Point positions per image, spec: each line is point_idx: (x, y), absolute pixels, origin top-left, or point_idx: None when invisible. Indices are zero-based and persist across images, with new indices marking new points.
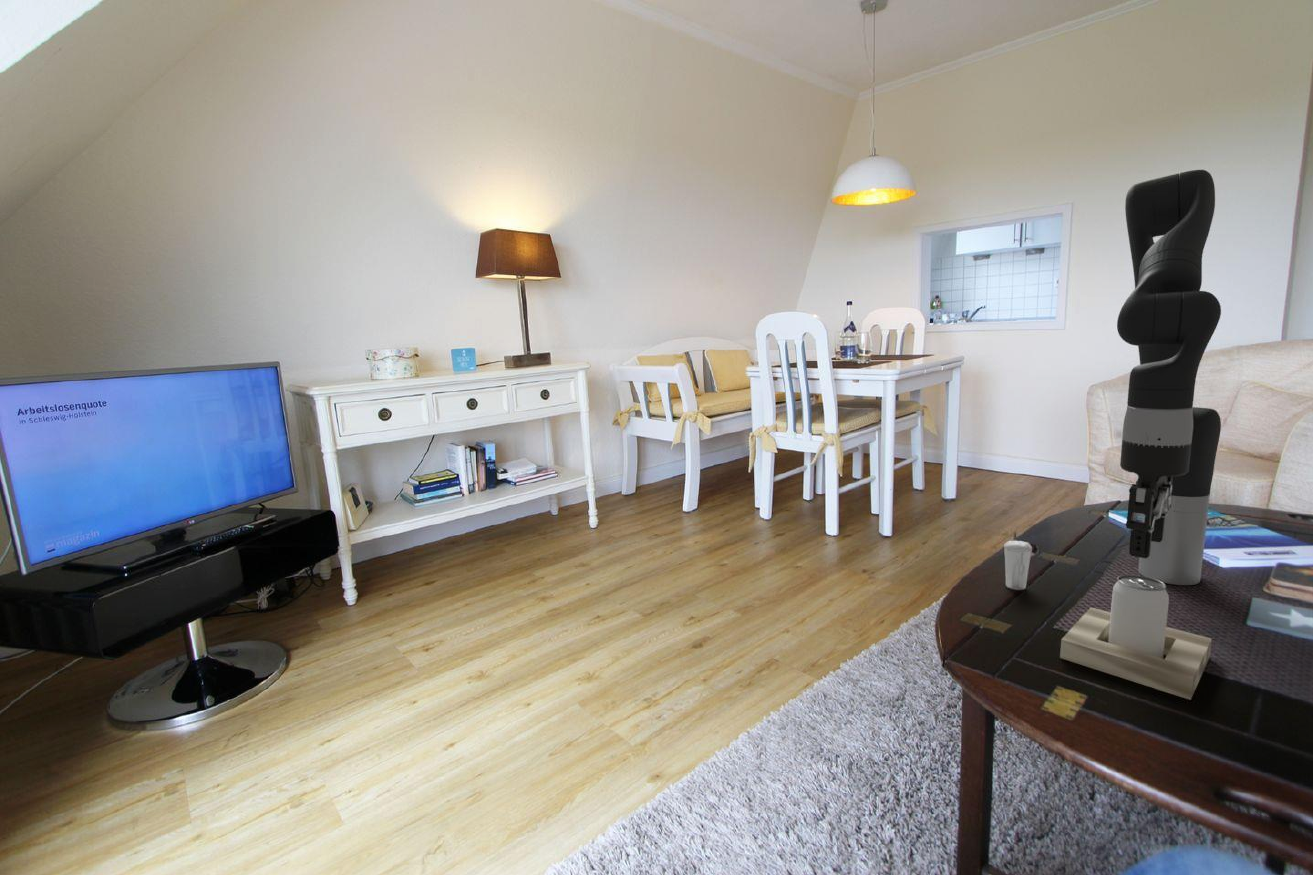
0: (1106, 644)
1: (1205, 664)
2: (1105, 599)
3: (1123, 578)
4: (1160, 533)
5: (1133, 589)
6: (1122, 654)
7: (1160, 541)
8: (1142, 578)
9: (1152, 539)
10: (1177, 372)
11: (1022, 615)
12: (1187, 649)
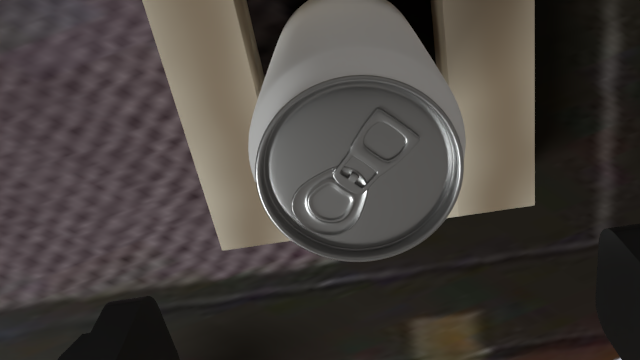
0: (467, 116)
1: None
2: (20, 259)
3: (343, 243)
4: (130, 351)
5: (455, 167)
6: (506, 57)
7: (147, 297)
8: (269, 196)
9: (161, 340)
10: None
11: (332, 329)
12: None
